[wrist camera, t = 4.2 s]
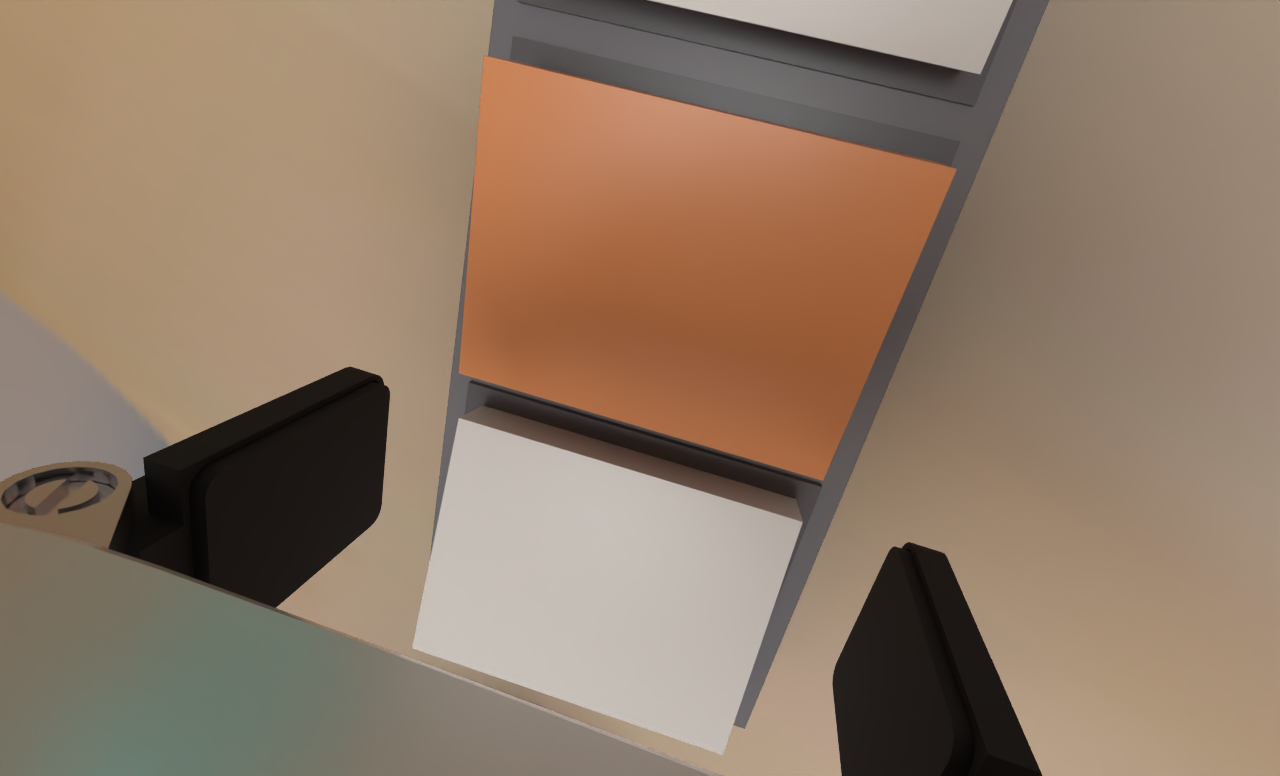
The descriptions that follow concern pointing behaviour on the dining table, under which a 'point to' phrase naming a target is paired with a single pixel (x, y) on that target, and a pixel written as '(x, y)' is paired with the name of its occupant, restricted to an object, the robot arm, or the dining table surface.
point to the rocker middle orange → (684, 262)
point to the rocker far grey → (603, 575)
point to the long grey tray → (787, 95)
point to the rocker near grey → (879, 24)
